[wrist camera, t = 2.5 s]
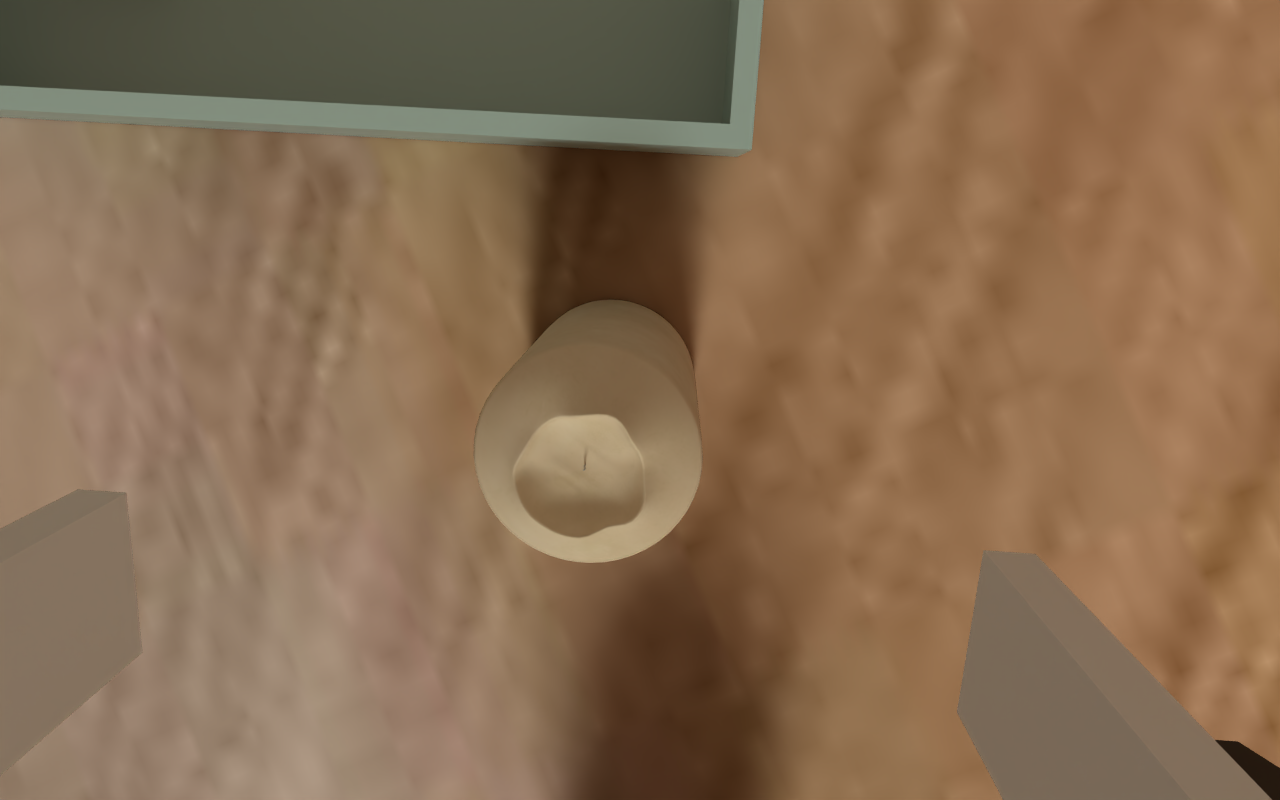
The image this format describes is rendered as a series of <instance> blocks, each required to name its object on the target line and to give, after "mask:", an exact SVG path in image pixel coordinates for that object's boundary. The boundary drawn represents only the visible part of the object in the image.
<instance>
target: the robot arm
mask: <svg viewBox="0 0 1280 800" xmlns="http://www.w3.org/2000/svg"><path fill="white" fill-rule="evenodd" d="M141 653H142V643H141V633H140V623H139V613H138V603H137V593H136V584H135V574H134V564H133V554H132V544H131V534H130V524H129V514H128V504H127V494H126V493H123V492H108V491H93V490H76V491H74V492H72V493H70V494H68V495H66V496H64V497H62V498H60V499H58V500H56V501H54V502H52V503H50V504H48V505H46V506H44V507H42V508H40V509H38V510H36V511H34V512H32V513H30V514H28V515H26V516H24V517H22V518H21V519H19V520H17V521H15V522H13V523H11V524H9V525H7V526H5V527H3V528H1V529H0V776H1V775H2V774H3V773H4V772H5V771H6V770H8V769H9V768H10V767H11V766H12V765H13V764H14V763H16V762H17V761H18V760H19V759H20V758H21V757H22V756H24V755H25V754H26V753H27V752H28V751H29V750H31V749H32V748H33V747H34V746H35V745H36V744H37V743H39V742H40V741H41V740H42V739H43V738H44V737H46V736H47V735H48V734H49V733H50V732H51V731H52V730H54V729H55V728H56V727H57V726H58V725H59V724H60V723H62V722H63V721H64V720H65V719H66V718H67V717H69V716H70V715H71V714H72V713H73V712H74V711H75V710H77V709H78V708H79V707H80V706H81V705H82V704H84V703H85V702H86V701H87V700H88V699H89V698H90V697H92V696H93V695H94V694H95V693H96V692H97V691H98V690H100V689H101V688H102V687H103V686H104V685H105V684H107V683H108V682H109V681H110V680H111V679H112V678H113V677H115V676H116V675H117V674H118V673H119V672H120V671H122V670H123V669H124V668H125V667H126V666H127V665H128V664H130V663H131V662H132V661H133V660H134V659H135V658H136V657H138V656H139V655H140V654H141ZM957 713H958V715H959V717H960V719H961V720H962V722H963V724H964V726H965V728H966V730H967V732H968V734H969V736H970V738H971V739H972V741H973V743H974V745H975V747H976V749H977V751H978V753H979V755H980V757H981V758H982V760H983V762H984V764H985V766H986V768H987V770H988V772H989V774H990V776H991V778H992V779H993V781H994V783H995V785H996V787H997V789H998V791H999V793H1000V795H1001V797H1002V798H1003V800H1280V768H1279V767H1277V766H1276V765H1274V764H1272V763H1271V762H1269V761H1268V760H1266V759H1265V758H1263V757H1261V756H1260V755H1258V754H1257V753H1255V752H1254V751H1252V750H1250V749H1249V748H1247V747H1246V746H1244V745H1243V744H1241V743H1239V742H1236V741H1222V740H1214V739H1213V738H1212V737H1211V736H1210V735H1209V734H1208V733H1207V732H1206V731H1205V730H1204V728H1203V727H1202V726H1201V725H1200V724H1199V723H1198V722H1197V721H1196V720H1195V719H1194V718H1193V717H1192V716H1191V715H1190V714H1189V713H1188V712H1187V711H1186V710H1185V709H1184V708H1183V707H1182V706H1181V705H1180V704H1179V703H1178V701H1177V700H1176V699H1175V698H1174V697H1173V696H1172V695H1171V694H1170V693H1169V692H1168V691H1167V690H1166V689H1165V688H1164V687H1163V686H1162V685H1161V684H1160V683H1159V682H1158V681H1157V680H1156V679H1155V678H1154V677H1153V676H1152V675H1151V673H1150V672H1149V671H1148V670H1147V669H1146V668H1145V667H1144V666H1143V665H1142V664H1141V663H1140V662H1139V661H1138V660H1137V659H1136V658H1135V657H1134V656H1133V655H1132V654H1131V653H1130V652H1129V651H1128V650H1127V649H1126V648H1125V646H1124V645H1123V644H1122V643H1121V642H1120V641H1119V640H1118V639H1117V638H1116V637H1115V636H1114V635H1113V634H1112V633H1111V632H1110V631H1109V630H1108V629H1107V628H1106V627H1105V626H1104V625H1103V624H1102V623H1101V622H1100V621H1099V620H1098V618H1097V617H1096V616H1095V615H1094V614H1093V613H1092V612H1091V611H1090V610H1089V609H1088V608H1087V607H1086V606H1085V605H1084V604H1083V603H1082V602H1081V601H1080V600H1079V599H1078V598H1077V597H1076V596H1075V595H1074V594H1073V593H1072V591H1071V590H1070V589H1069V588H1068V587H1067V586H1066V585H1065V584H1064V583H1063V582H1062V581H1061V580H1060V579H1059V578H1058V577H1057V576H1056V575H1055V574H1054V573H1053V572H1052V571H1051V570H1050V569H1049V568H1048V567H1047V566H1046V565H1045V563H1044V562H1043V561H1042V560H1041V559H1040V558H1039V557H1038V556H1037V555H1036V554H1029V553H1014V552H999V551H983V557H982V563H981V569H980V575H979V581H978V587H977V594H976V600H975V606H974V612H973V618H972V624H971V630H970V636H969V642H968V648H967V654H966V661H965V667H964V673H963V679H962V685H961V691H960V697H959V703H958V709H957Z"/></svg>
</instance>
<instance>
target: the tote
mask: <svg viewBox="0 0 1280 800" xmlns="http://www.w3.org/2000/svg"><path fill="white" fill-rule="evenodd" d="M763 4H764V0H0V117H9V118H27V119H46V120H64V121H83V122H102V123H120V124H139V125H157V126H176V127H195V128H213V129H232V130H250V131H269V132H287V133H306V134H325V135H343V136H362V137H380V138H399V139H418V140H436V141H455V142H473V143H492V144H511V145H529V146H548V147H566V148H585V149H603V150H622V151H641V152H659V153H678V154H696V155H715V156H734V157H738V156H740V155H742V154H744V153H746V152H748V151H750V150H752V139H753V126H754V114H755V102H756V90H757V77H758V65H759V53H760V41H761V28H762V16H763Z"/></svg>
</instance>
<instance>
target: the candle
mask: <svg viewBox="0 0 1280 800" xmlns="http://www.w3.org/2000/svg"><path fill="white" fill-rule="evenodd" d="M702 460H703V452H702V438H701V429H700V419H699V410H698V401H697V391H696V382H695V374H694V369H693V365H692V360H691V357H690V354H689V351H688V349H687V347H686V345H685V343H684V341H683V340H682V338H681V337H680V335H679V334H678V332H677V331H676V330H675V329H674V328H673V327H672V325H671V324H670V323H669V322H667V321H666V320H665V319H664V318H663V317H662V316H660V315H658V314H657V313H655V312H654V311H652V310H650V309H648V308H646V307H644V306H642V305H639V304H636V303H633V302H628V301H623V300H599V301H594V302H589V303H586V304H583V305H580V306H578V307H576V308H574V309H572V310H570V311H568V312H566V313H565V314H564V315H562V316H561V317H559V318H558V319H557V320H556V321H555V322H554V323H553V324H552V325H550V326H549V327H548V328H547V329H546V330H545V332H544V333H543V334H542V335H541V336H540V337H539V338H538V339H537V340H536V341H535V343H534V344H533V345H532V346H531V347H530V348H529V349H528V350H527V351H526V352H525V354H524V355H523V356H522V357H521V358H520V359H519V360H518V361H517V362H516V363H515V365H514V366H513V367H512V368H511V369H510V370H509V371H508V372H507V373H506V374H505V376H504V377H503V378H502V379H501V380H500V382H499V383H498V384H497V385H496V386H495V388H494V389H493V390H492V392H491V393H490V395H489V397H488V398H487V400H486V402H485V404H484V406H483V408H482V411H481V413H480V416H479V419H478V423H477V426H476V431H475V438H474V462H475V470H476V474H477V478H478V482H479V485H480V487H481V490H482V492H483V495H484V497H485V499H486V501H487V502H488V504H489V506H490V508H491V509H492V511H493V512H494V514H495V515H496V516H497V517H498V519H499V520H500V521H501V523H502V524H503V525H504V526H505V527H506V528H507V529H508V530H509V531H510V532H511V533H513V534H514V535H515V536H516V537H518V538H519V539H520V540H521V541H523V542H524V543H526V544H528V545H529V546H531V547H533V548H534V549H536V550H539V551H541V552H543V553H545V554H547V555H550V556H553V557H556V558H560V559H563V560H569V561H574V562H585V563H597V562H608V561H614V560H619V559H623V558H626V557H629V556H632V555H635V554H637V553H639V552H641V551H643V550H646V549H647V548H649V547H651V546H652V545H654V544H655V543H657V542H659V541H660V540H661V539H662V538H663V537H665V536H666V535H667V534H668V533H669V532H670V531H671V530H672V529H673V528H674V527H675V526H676V525H677V524H678V523H679V522H680V520H681V519H682V517H683V516H684V515H685V513H686V512H687V510H688V508H689V507H690V505H691V503H692V501H693V499H694V496H695V494H696V491H697V488H698V485H699V481H700V477H701V472H702Z"/></svg>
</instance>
